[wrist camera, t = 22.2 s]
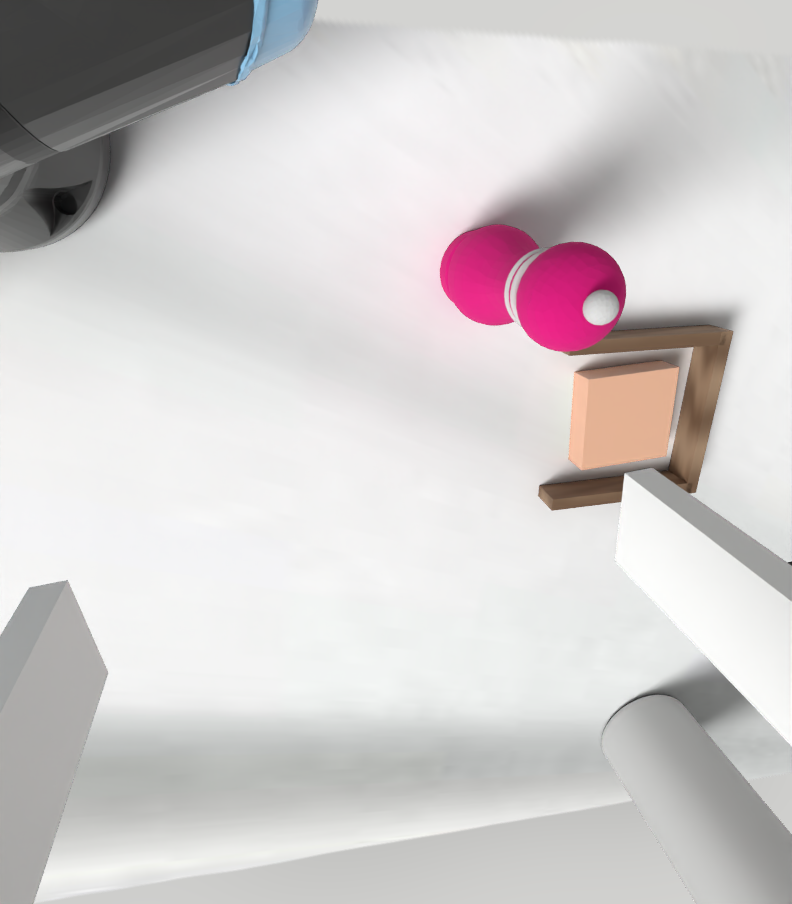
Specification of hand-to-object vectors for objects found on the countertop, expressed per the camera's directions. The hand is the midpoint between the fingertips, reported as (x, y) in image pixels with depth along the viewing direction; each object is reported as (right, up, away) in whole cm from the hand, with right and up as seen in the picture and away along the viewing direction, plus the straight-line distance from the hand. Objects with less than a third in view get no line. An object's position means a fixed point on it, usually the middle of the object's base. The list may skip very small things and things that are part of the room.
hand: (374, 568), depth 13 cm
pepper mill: (+7, +18, +32) cm, 38 cm away
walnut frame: (+22, +7, +41) cm, 47 cm away
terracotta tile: (+22, +7, +41) cm, 47 cm away
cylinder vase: (+34, -34, +61) cm, 78 cm away
